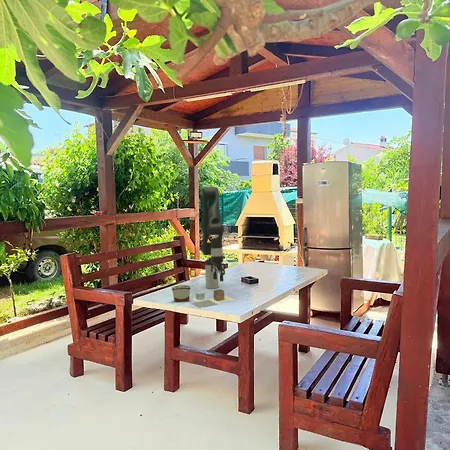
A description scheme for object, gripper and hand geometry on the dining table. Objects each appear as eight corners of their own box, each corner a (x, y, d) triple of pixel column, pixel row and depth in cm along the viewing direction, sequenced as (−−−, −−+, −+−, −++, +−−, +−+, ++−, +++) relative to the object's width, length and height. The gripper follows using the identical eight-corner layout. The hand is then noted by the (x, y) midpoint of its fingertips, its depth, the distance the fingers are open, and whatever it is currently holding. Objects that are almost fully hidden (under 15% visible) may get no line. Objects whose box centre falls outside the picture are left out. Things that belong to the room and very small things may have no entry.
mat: (191, 304, 240) (191, 303, 240) (208, 300, 246) (208, 299, 246) (200, 308, 230) (199, 307, 230) (217, 304, 236) (217, 304, 236)
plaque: (192, 299, 251) (192, 299, 251) (203, 297, 255) (203, 296, 255) (197, 302, 244) (197, 301, 244) (208, 299, 248) (208, 299, 248)
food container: (192, 299, 251) (191, 284, 250) (191, 302, 245) (190, 286, 244) (173, 300, 251) (172, 285, 250) (172, 303, 245) (171, 287, 244)
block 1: (196, 299, 250) (195, 293, 250) (201, 298, 253) (200, 292, 252) (199, 300, 247) (199, 294, 247) (204, 299, 249) (204, 293, 249)
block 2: (213, 299, 247) (213, 290, 247) (220, 298, 250) (220, 289, 249) (217, 301, 243) (217, 291, 242) (224, 299, 245) (224, 290, 245)
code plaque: (203, 300, 248) (203, 299, 248) (225, 296, 255) (225, 295, 255) (212, 304, 237) (212, 303, 237) (234, 300, 245) (234, 299, 245)
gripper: (227, 255, 240) (229, 281, 241) (216, 253, 252) (218, 277, 253) (217, 256, 236) (218, 283, 237) (206, 254, 249) (208, 279, 250)
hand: (218, 280), depth 245 cm, fingers open, 8 cm apart
